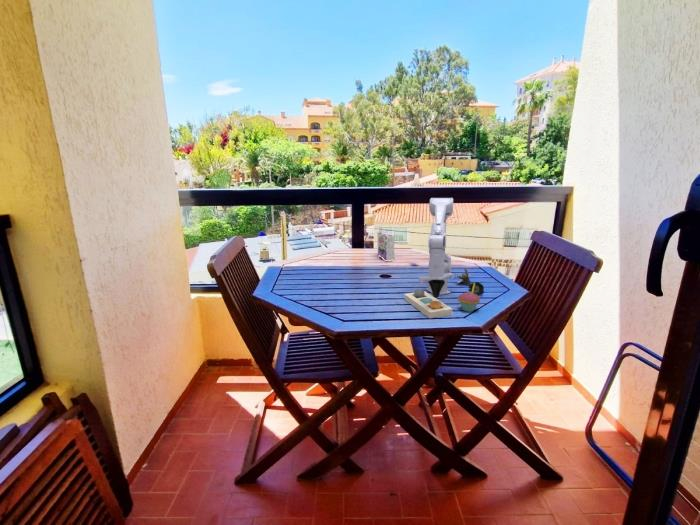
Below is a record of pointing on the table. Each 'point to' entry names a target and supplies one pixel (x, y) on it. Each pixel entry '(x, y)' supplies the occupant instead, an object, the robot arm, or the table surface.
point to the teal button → (426, 300)
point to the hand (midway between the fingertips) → (435, 297)
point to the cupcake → (469, 300)
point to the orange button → (435, 305)
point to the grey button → (418, 294)
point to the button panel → (428, 305)
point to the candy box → (386, 245)
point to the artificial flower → (478, 286)
